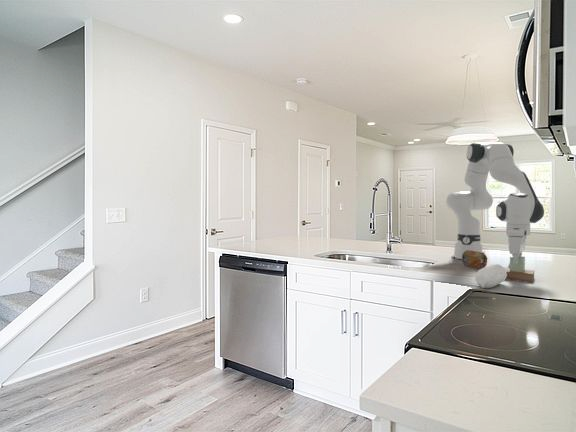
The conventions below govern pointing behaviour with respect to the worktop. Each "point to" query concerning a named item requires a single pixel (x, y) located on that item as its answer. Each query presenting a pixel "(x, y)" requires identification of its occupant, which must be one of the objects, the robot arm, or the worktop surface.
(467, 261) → the tin
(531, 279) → the brown block
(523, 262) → the sage block
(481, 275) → the white plastic bottle
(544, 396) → the worktop surface
